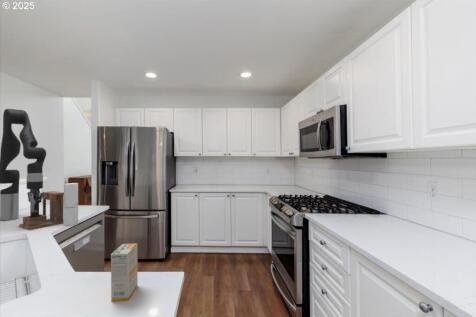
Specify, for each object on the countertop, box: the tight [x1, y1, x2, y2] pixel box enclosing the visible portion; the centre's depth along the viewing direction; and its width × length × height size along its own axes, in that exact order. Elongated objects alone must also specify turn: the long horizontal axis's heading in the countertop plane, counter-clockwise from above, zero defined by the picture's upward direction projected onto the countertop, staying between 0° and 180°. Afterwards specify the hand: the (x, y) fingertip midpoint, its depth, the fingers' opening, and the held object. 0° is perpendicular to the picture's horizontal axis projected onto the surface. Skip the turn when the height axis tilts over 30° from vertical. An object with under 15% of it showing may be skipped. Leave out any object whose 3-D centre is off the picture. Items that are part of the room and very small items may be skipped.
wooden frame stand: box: [18, 190, 64, 231], centre depth 147 cm, size 15×18×19 cm
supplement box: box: [110, 243, 139, 302], centre depth 70 cm, size 8×5×13 cm, turn 5°
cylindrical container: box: [63, 182, 79, 227], centre depth 148 cm, size 7×7×25 cm
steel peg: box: [29, 196, 40, 217], centre depth 144 cm, size 4×4×12 cm
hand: (34, 209), depth 144 cm, fingers closed on steel peg, 4 cm apart
